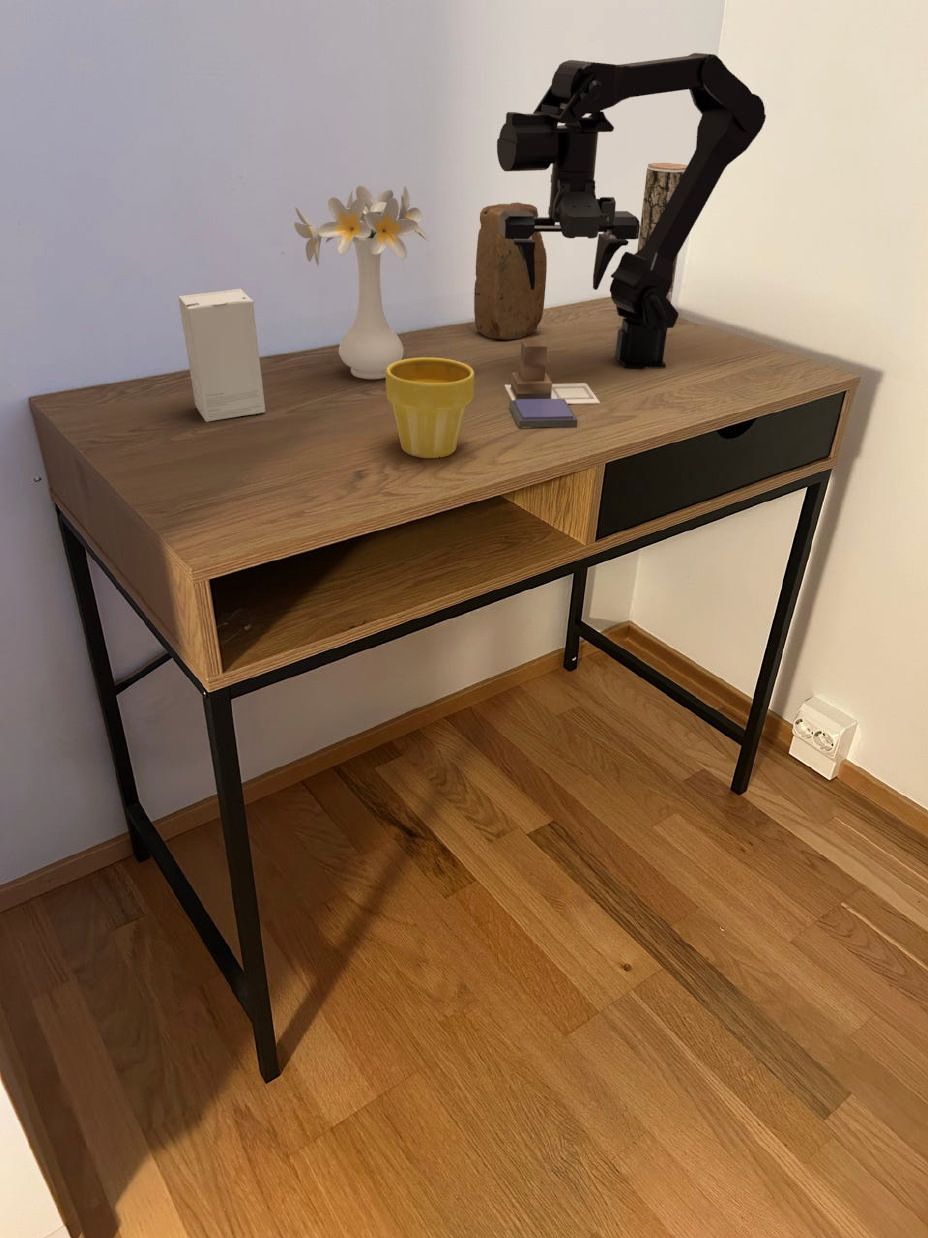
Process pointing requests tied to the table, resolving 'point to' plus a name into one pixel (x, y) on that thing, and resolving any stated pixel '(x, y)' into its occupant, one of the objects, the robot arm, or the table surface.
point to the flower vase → (367, 270)
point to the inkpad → (542, 413)
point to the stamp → (532, 372)
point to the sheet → (568, 393)
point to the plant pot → (429, 403)
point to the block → (506, 280)
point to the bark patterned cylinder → (658, 200)
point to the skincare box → (223, 353)
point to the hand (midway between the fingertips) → (563, 289)
